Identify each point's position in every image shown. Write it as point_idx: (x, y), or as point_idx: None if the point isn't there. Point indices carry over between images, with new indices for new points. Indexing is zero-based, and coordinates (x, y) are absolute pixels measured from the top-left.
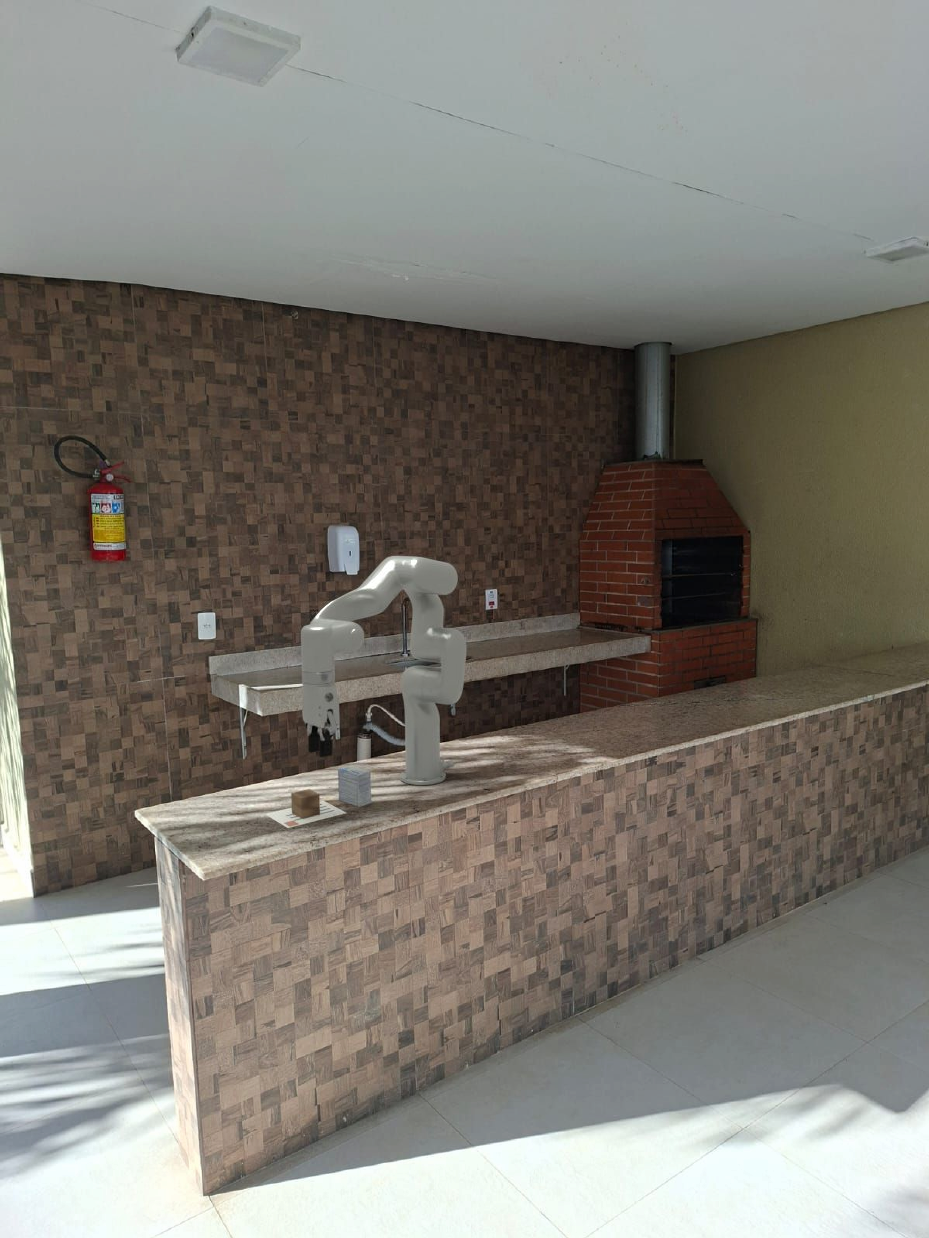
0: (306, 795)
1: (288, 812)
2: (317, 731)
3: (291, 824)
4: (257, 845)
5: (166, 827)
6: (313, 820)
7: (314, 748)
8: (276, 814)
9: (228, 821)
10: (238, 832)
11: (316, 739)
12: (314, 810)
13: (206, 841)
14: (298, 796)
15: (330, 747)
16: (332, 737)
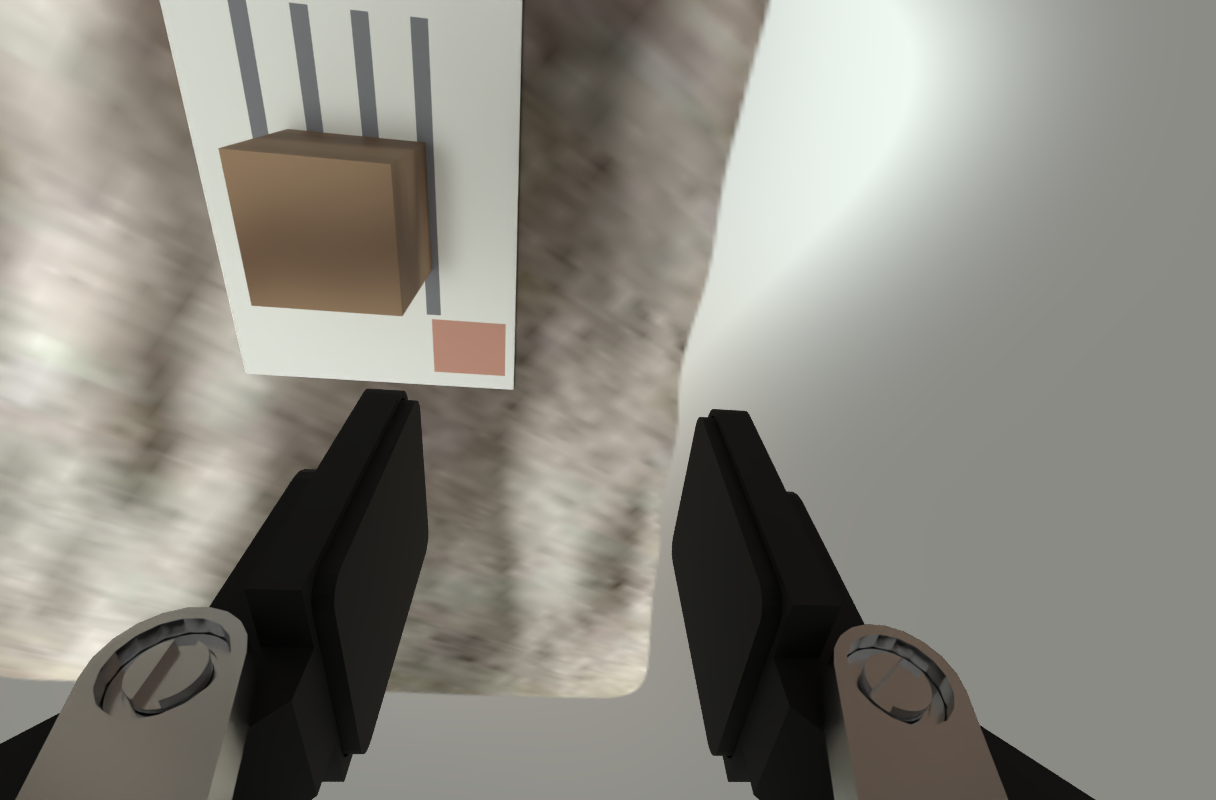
0: (362, 254)
1: None
2: (260, 724)
3: (482, 354)
4: (594, 543)
5: None
6: (504, 239)
7: (415, 522)
8: (286, 334)
9: (250, 514)
10: None
11: (371, 604)
12: (420, 188)
13: (430, 633)
14: (350, 306)
15: (817, 538)
16: (947, 682)
